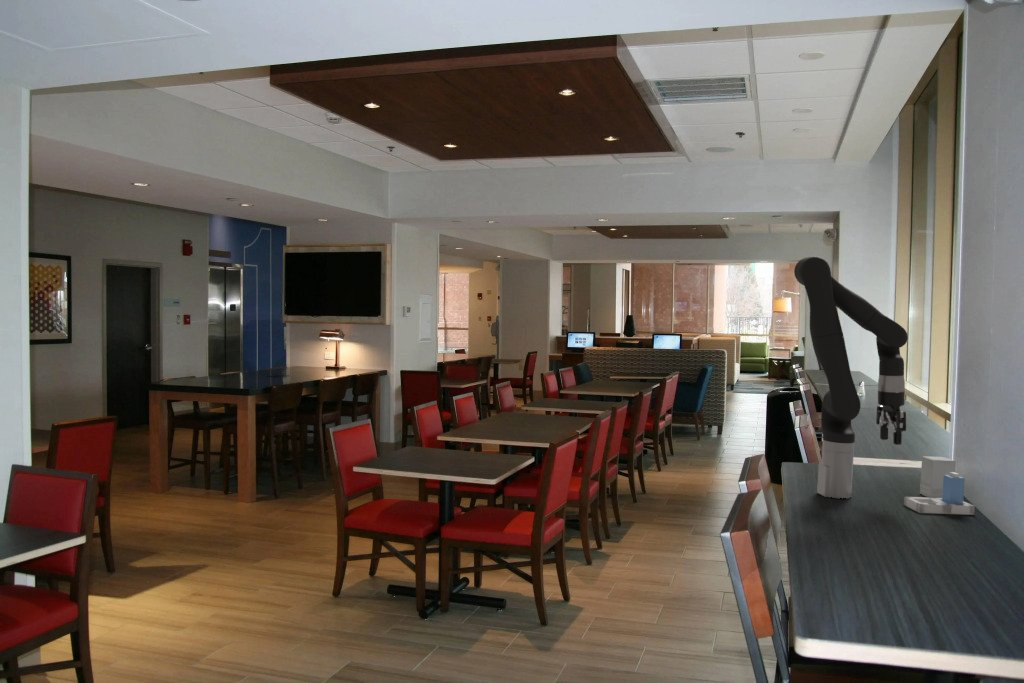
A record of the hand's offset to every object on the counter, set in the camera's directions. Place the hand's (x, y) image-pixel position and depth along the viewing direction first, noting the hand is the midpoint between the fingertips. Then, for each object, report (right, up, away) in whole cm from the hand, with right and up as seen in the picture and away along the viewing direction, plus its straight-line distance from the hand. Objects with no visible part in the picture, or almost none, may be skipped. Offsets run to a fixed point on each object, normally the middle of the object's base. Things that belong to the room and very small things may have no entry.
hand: (890, 441), depth 260 cm
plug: (+12, -19, -13) cm, 26 cm away
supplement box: (+17, -19, +5) cm, 26 cm away
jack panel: (+8, -19, -13) cm, 24 cm away
